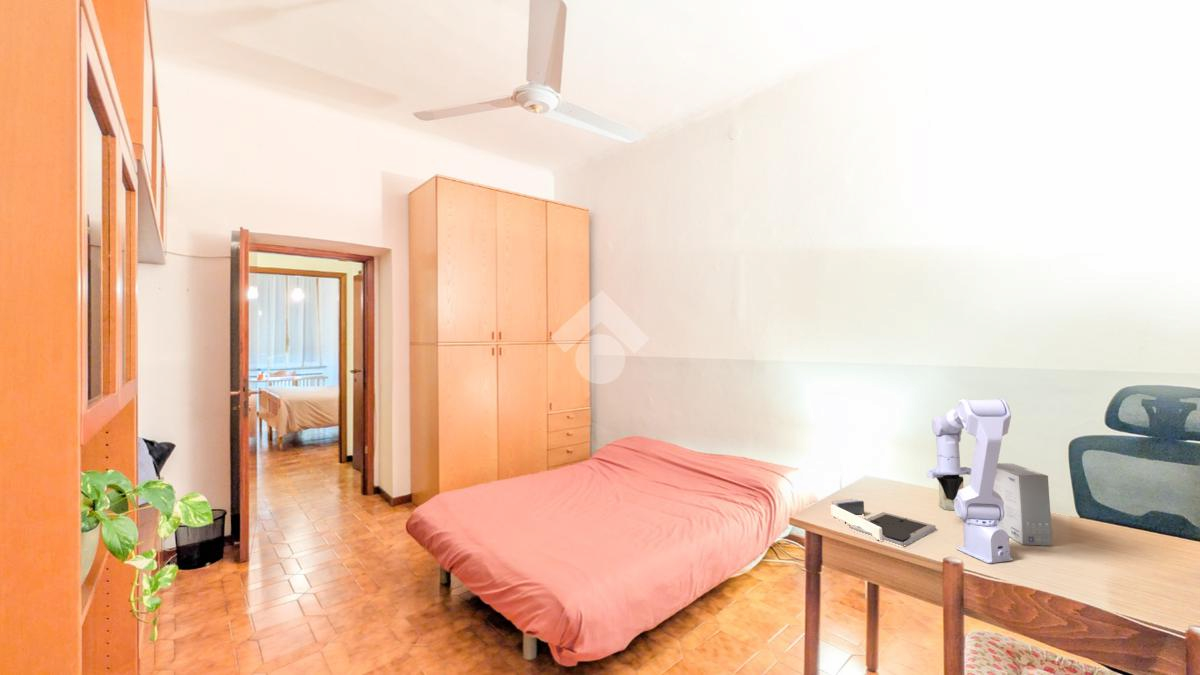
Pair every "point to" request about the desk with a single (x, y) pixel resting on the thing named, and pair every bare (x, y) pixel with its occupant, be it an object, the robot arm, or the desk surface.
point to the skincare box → (945, 502)
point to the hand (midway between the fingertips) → (950, 499)
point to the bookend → (853, 507)
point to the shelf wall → (857, 521)
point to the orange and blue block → (843, 501)
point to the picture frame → (898, 528)
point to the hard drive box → (1024, 504)
